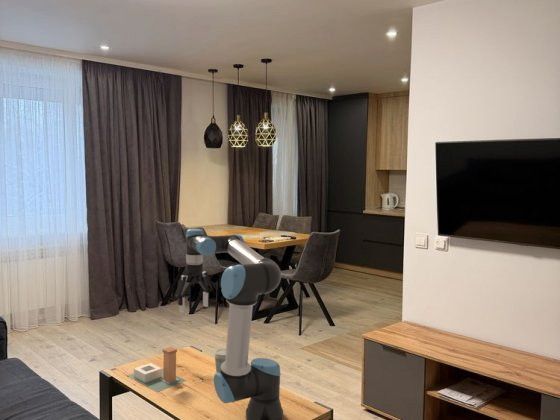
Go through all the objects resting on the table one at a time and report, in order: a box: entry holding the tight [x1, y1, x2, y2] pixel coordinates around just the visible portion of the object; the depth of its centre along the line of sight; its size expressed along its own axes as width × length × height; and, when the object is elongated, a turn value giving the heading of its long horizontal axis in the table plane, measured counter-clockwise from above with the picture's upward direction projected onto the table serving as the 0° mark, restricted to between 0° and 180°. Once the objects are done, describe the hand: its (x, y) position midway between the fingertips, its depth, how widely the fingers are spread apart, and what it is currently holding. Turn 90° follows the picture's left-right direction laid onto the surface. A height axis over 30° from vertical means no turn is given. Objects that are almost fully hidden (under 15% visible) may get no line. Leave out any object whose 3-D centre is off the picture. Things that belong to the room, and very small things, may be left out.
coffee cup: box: [213, 348, 226, 374], centre depth 233 cm, size 8×8×12 cm
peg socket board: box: [126, 362, 187, 393], centre depth 226 cm, size 24×16×6 cm, turn 49°
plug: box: [162, 346, 178, 382], centre depth 224 cm, size 5×5×14 cm
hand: (193, 309), depth 223 cm, fingers open, 13 cm apart
